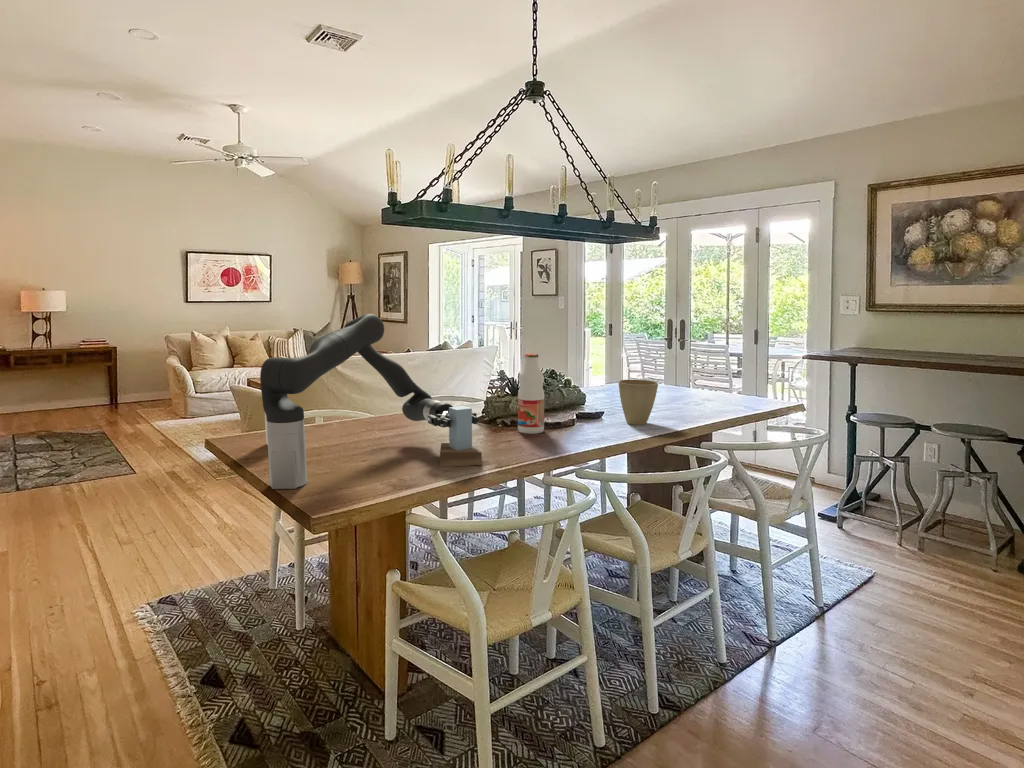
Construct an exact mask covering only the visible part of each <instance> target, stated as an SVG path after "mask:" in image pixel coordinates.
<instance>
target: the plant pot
mask: <svg viewBox="0 0 1024 768" xmlns="http://www.w3.org/2000/svg"><path fill="white" fill-rule="evenodd" d="M658 387H659V382H658V381H655V380H650V379H649V380H647V379H620V380H618V391H619V398H620V404H621V407H622V412H623V414H624V415H623V416H624V418H625V421H626V424H628V425H634V426H643V425H644V426H645V425H647V423H648V420H649V418H650V415H651V413H652V411H653V407H654V405H655V401H656V397H657V391H658Z"/></svg>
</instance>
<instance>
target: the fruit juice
mask: <svg viewBox="0 0 1024 768" xmlns="http://www.w3.org/2000/svg"><path fill="white" fill-rule="evenodd" d="M523 357H524V361H525V362H524V365H523V368H522V370H521V371H520V373H519V375H518V379H517V380H518V384H519V389H518V391H517V392H518V393H517V430H518V432H519V433H522V434H527V435H535V434H536V435H537V434H541V433H543V432H544V430H545V390H544V382H545V377H544V374H543V372H542V371H541V370H540V367H539V361H538V360H539V354H538V353H534V352H533V353H531V352H530V353H529V352H528V353H524V355H523Z"/></svg>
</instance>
